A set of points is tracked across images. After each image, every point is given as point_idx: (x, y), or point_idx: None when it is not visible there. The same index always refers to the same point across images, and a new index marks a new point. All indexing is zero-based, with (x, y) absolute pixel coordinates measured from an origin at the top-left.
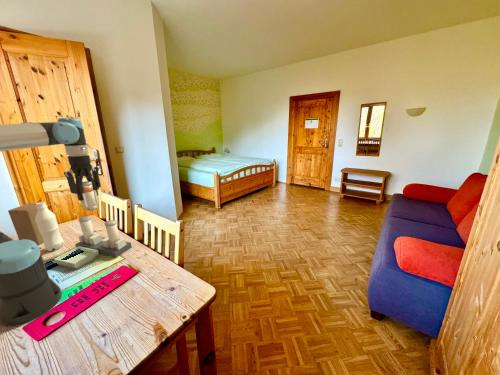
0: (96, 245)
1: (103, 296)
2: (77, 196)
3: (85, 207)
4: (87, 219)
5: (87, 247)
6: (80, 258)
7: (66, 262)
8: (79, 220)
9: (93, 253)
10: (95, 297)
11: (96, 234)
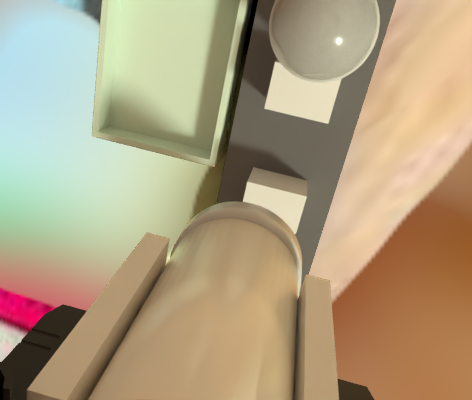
0: (262, 117)
1: (22, 327)
2: (6, 357)
3: (174, 250)
4: (304, 79)
5: (245, 66)
6: (174, 83)
7: (98, 74)
8: (271, 12)
9: (187, 159)
10: (12, 307)
11: (326, 84)
